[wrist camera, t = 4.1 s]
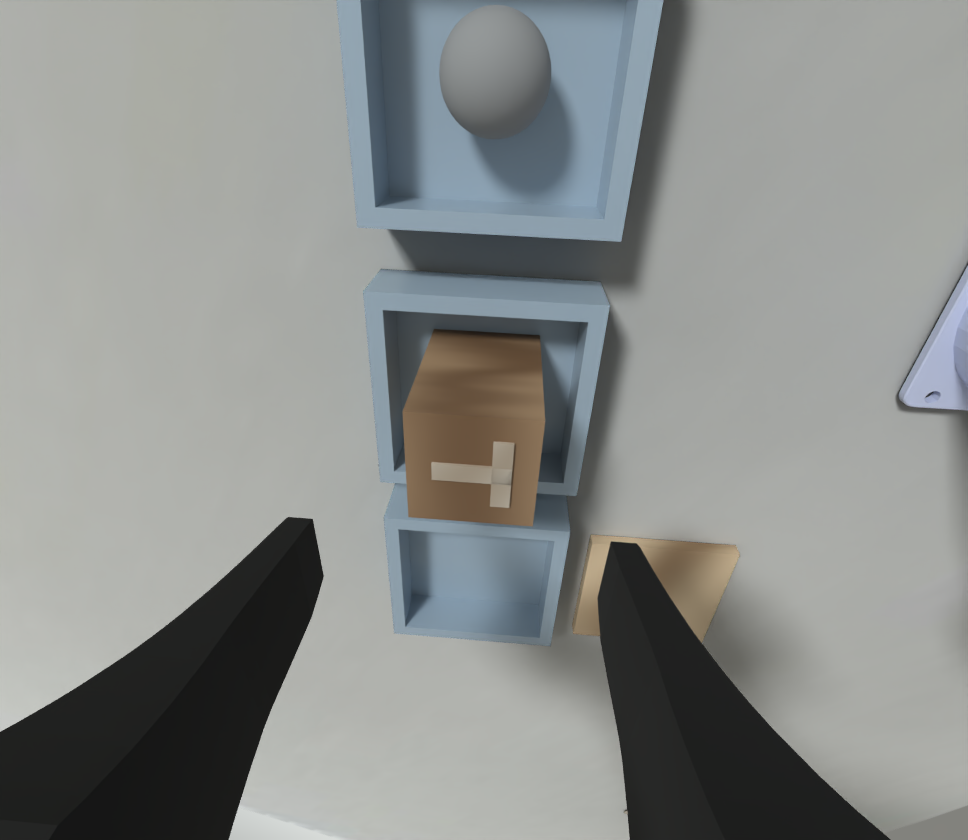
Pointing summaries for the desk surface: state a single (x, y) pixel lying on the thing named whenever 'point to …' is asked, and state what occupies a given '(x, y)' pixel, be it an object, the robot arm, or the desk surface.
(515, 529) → the dish
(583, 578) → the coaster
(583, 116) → the dish
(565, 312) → the dish
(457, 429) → the letter block
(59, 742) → the robot arm
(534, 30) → the grey ball
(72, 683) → the desk surface
